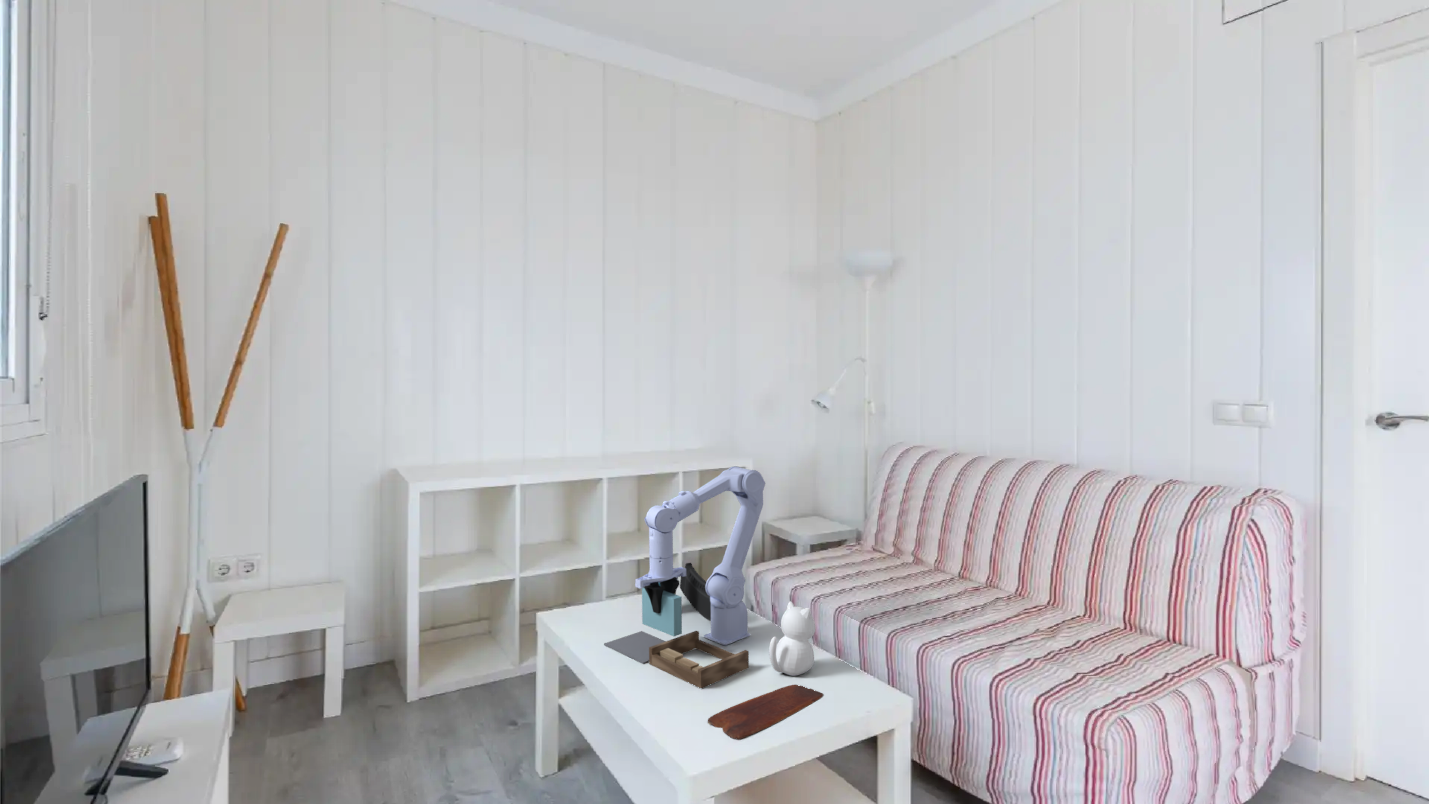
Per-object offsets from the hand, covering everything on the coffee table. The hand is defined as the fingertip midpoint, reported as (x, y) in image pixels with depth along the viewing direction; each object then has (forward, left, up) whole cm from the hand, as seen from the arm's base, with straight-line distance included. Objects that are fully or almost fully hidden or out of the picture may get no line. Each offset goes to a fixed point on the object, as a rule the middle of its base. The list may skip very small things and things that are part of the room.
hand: (661, 610), depth 171 cm
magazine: (-27, -15, -11) cm, 33 cm away
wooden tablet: (+2, +37, -11) cm, 39 cm away
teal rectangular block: (0, 0, -4) cm, 4 cm away
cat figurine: (-15, +29, -11) cm, 34 cm away
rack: (-1, +12, -10) cm, 16 cm away
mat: (+1, -6, -10) cm, 12 cm away
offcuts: (+3, +12, -10) cm, 16 cm away
